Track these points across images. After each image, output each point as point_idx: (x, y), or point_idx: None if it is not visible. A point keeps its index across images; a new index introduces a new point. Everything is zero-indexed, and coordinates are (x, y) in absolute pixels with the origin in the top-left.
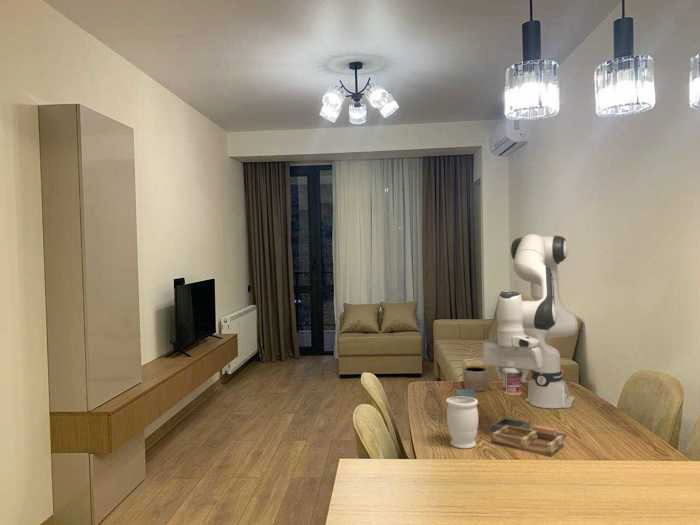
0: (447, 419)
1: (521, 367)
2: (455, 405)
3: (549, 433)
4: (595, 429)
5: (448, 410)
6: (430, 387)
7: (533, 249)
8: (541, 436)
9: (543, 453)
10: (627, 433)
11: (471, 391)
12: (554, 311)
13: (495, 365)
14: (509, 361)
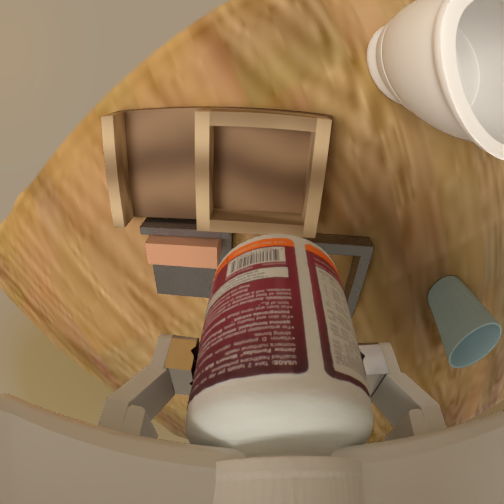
0: (493, 38)
1: (127, 445)
2: None
3: (162, 237)
4: (137, 350)
5: None
6: (492, 393)
7: None
8: (188, 224)
9: (138, 109)
10: (87, 348)
11: (456, 364)
12: None
13: (449, 431)
14: None
